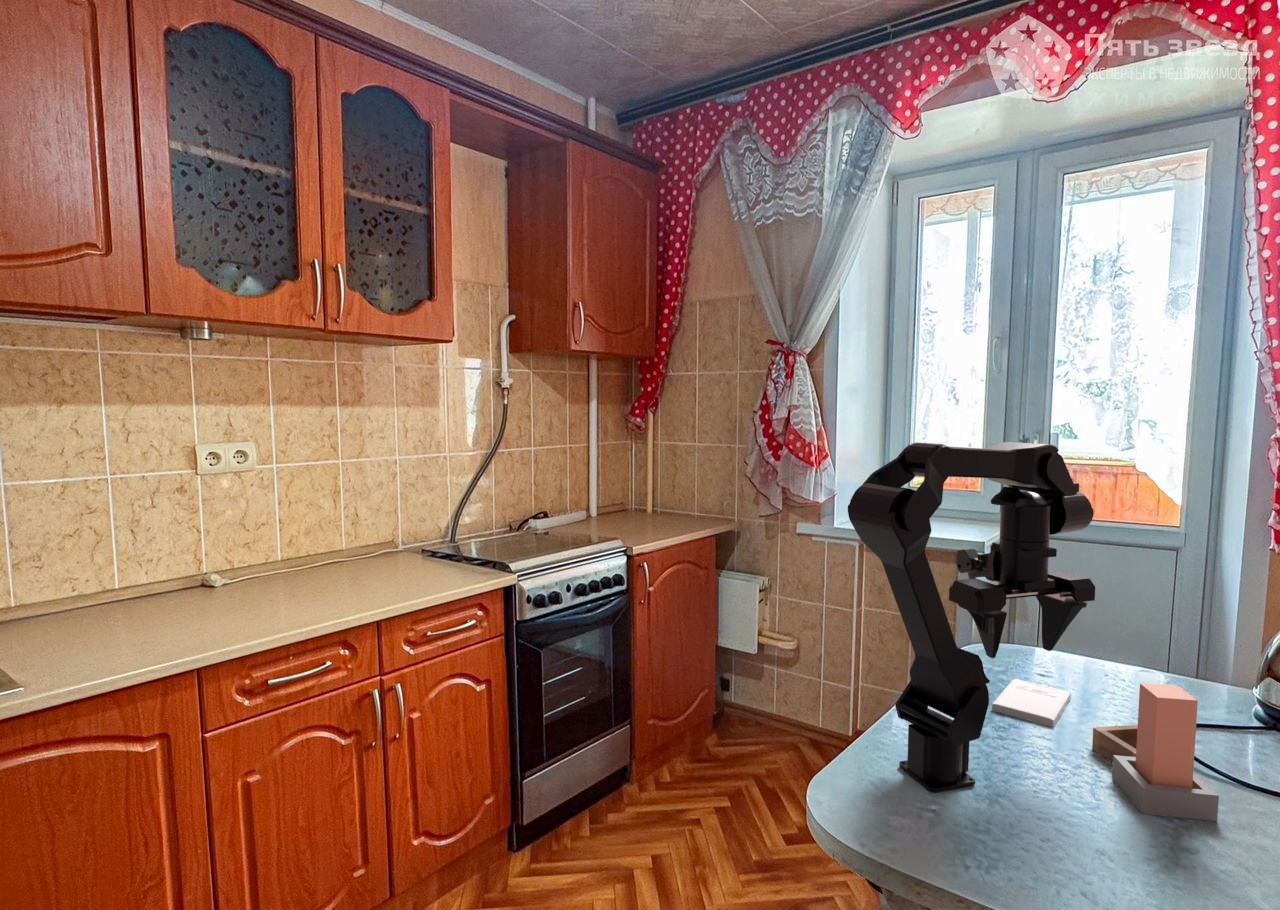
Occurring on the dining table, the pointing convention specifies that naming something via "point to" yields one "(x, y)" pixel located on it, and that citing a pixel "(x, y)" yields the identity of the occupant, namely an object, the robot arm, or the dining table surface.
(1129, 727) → the walnut socket
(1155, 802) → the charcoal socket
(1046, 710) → the external hard drive
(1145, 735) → the peg
